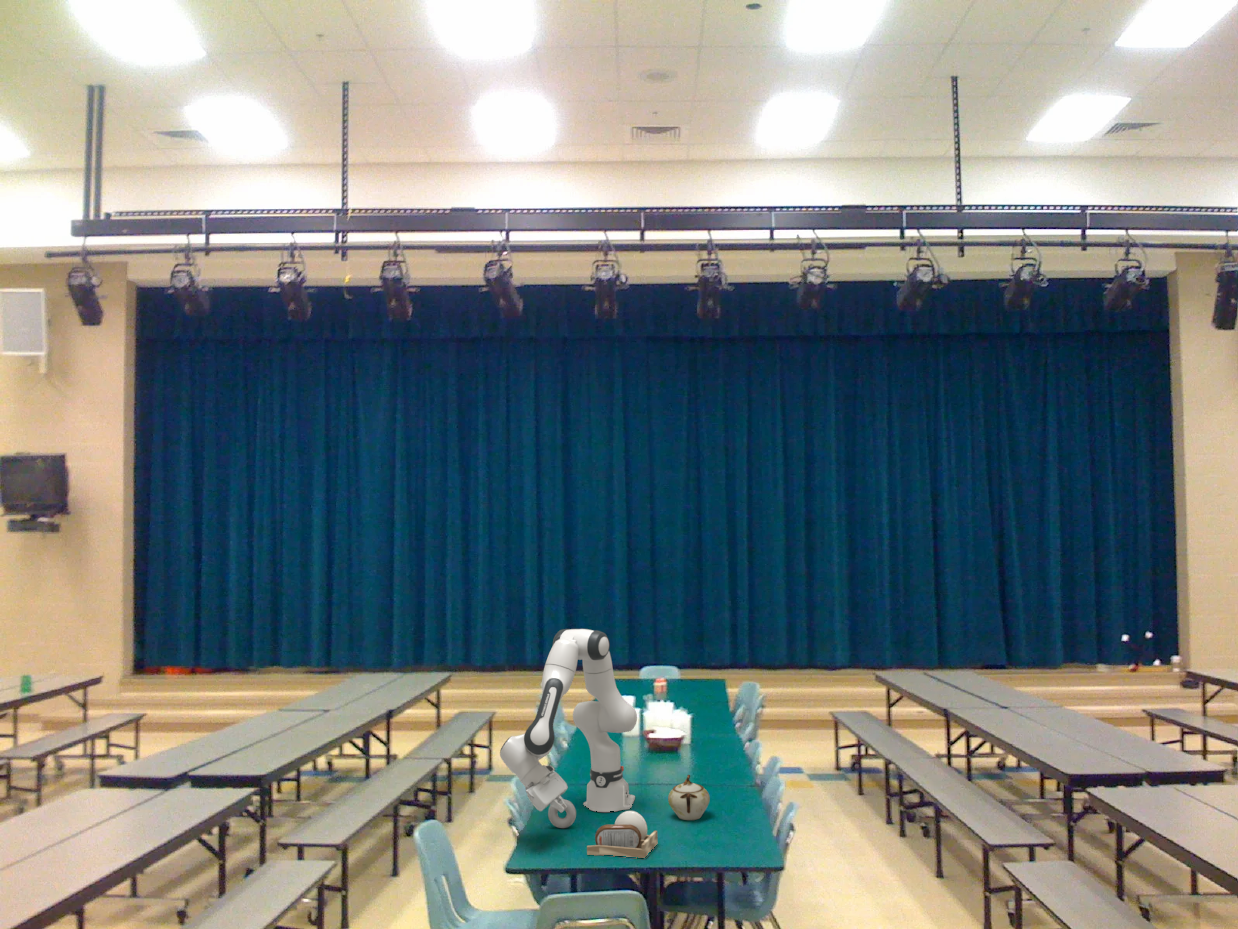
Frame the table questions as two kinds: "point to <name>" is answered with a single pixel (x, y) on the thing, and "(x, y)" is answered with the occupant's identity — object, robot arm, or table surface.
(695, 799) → the sugar bowl
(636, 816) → the racked plate
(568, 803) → the donut
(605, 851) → the rack
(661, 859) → the table surface
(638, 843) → the tin
